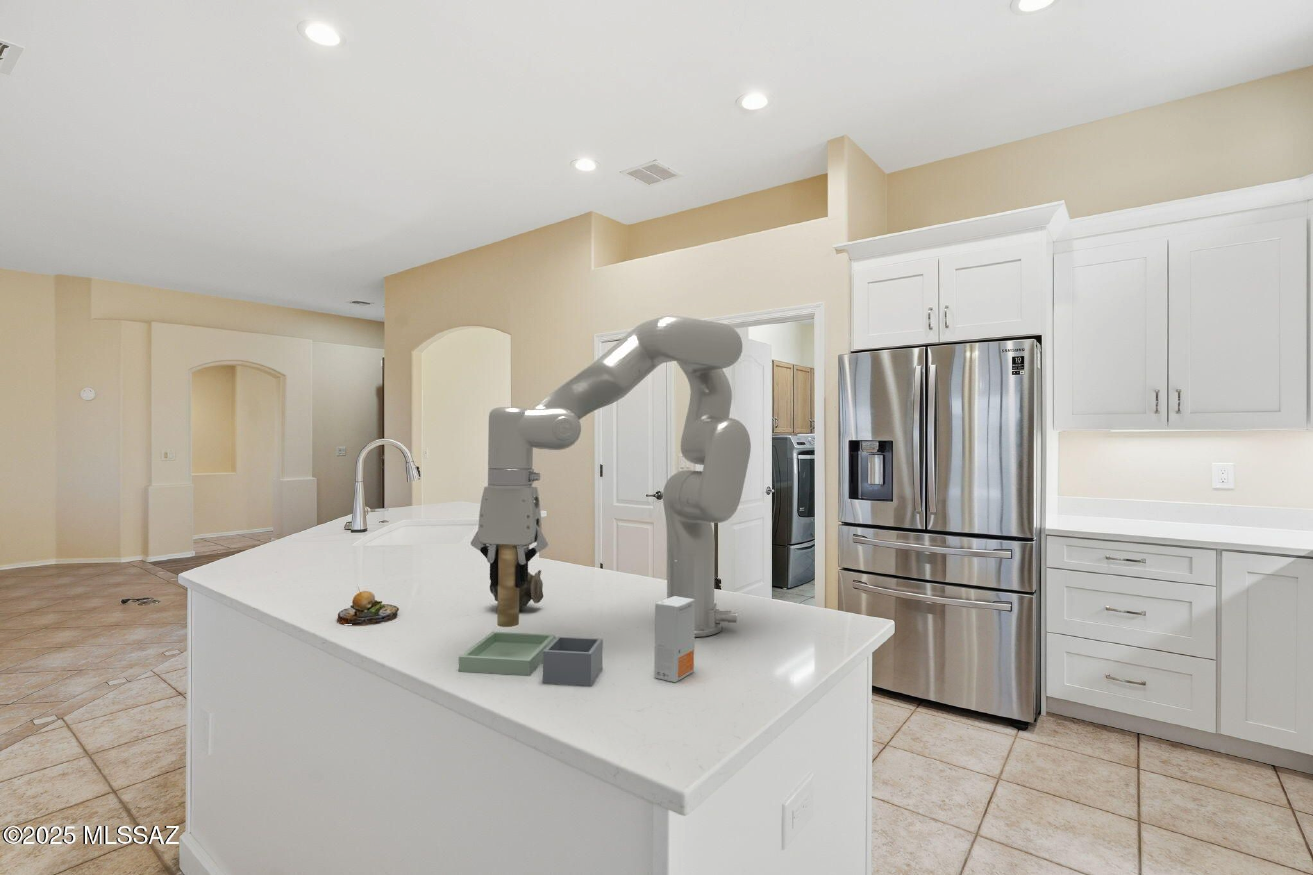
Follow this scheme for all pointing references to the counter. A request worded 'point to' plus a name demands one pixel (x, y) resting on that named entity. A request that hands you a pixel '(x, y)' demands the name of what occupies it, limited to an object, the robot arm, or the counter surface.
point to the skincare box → (674, 638)
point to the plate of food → (367, 611)
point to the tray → (506, 653)
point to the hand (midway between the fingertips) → (508, 584)
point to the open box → (572, 661)
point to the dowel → (507, 587)
